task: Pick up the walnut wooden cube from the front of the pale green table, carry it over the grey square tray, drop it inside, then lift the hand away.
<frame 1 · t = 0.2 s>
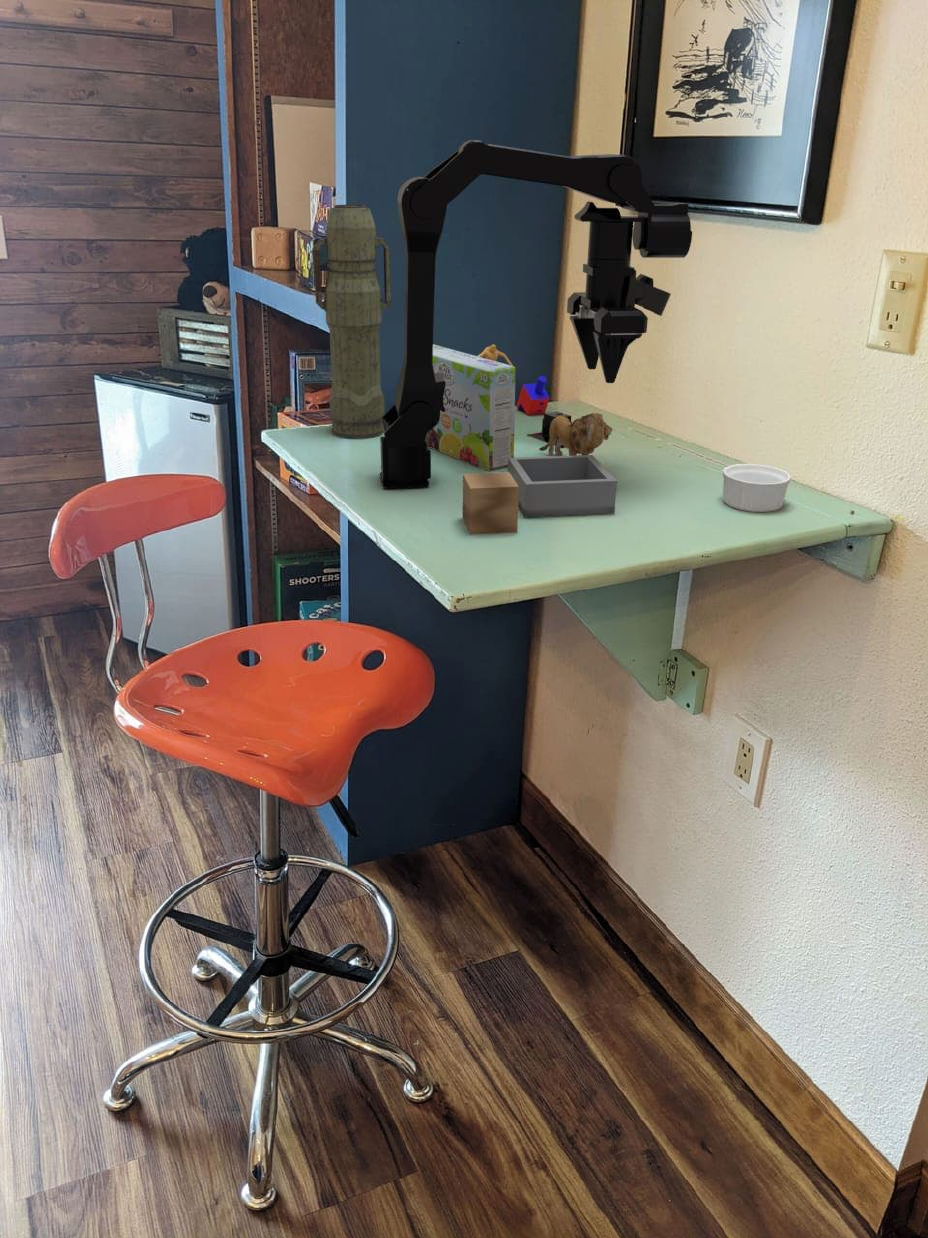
hand: (600, 375, 141), 14 cm above the table, fingers open, 9 cm apart
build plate: (556, 443, 165), on the table
lion figurine: (572, 466, 152), on the table
thermos: (357, 433, 168), on the table
snack box: (458, 454, 157), on the table
figurine: (494, 414, 180), on the table
grey square tray: (559, 500, 136), on the table
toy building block: (532, 413, 181), on the table
walnut cube: (489, 525, 128), on the table
ramekin: (752, 505, 137), on the table
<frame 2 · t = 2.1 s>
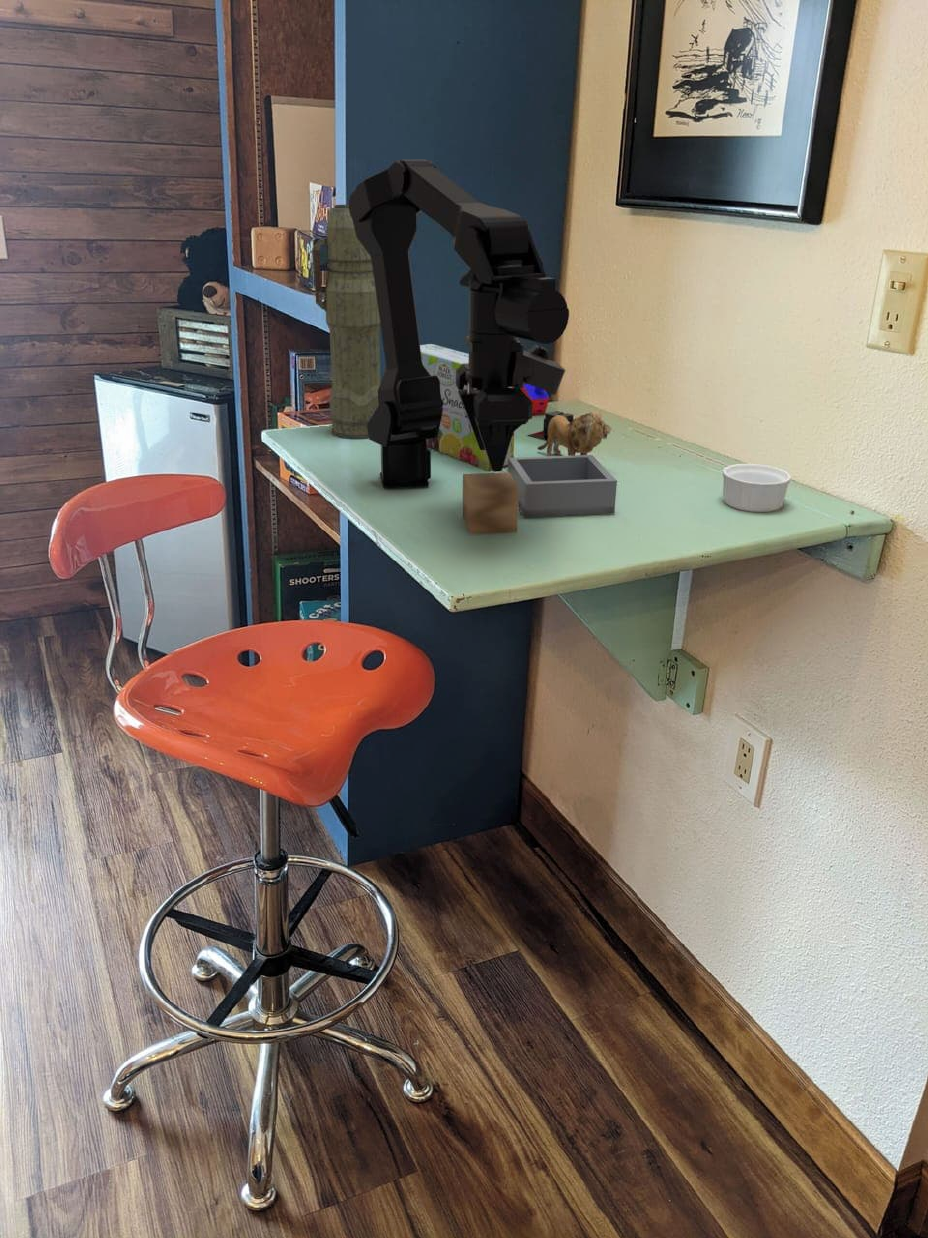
hand: (490, 459, 124), 8 cm above the table, fingers open, 9 cm apart
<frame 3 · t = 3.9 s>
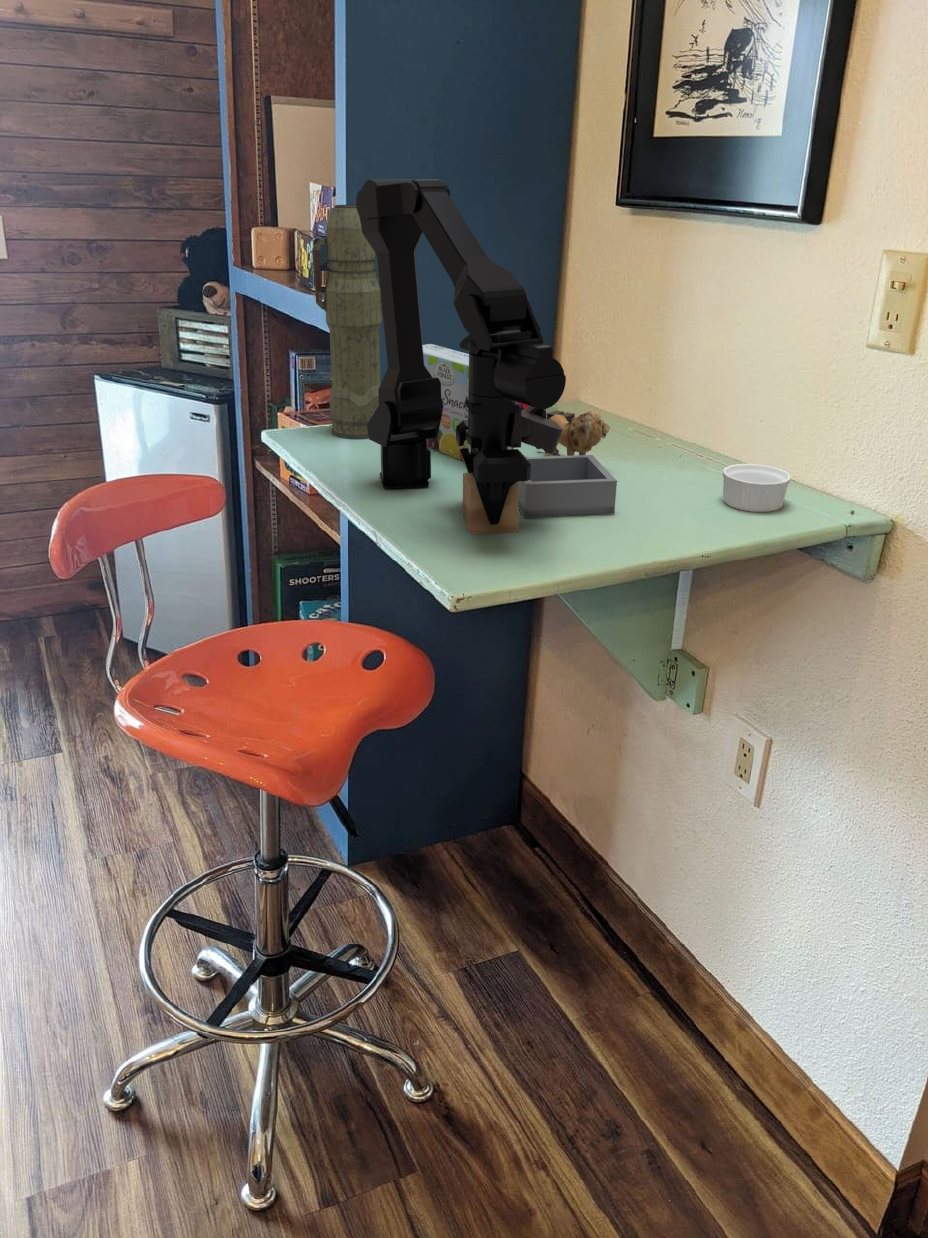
hand: (489, 515, 127), 1 cm above the table, fingers closed on walnut cube, 6 cm apart
walnut cube: (489, 524, 128), on the table, touching gripper
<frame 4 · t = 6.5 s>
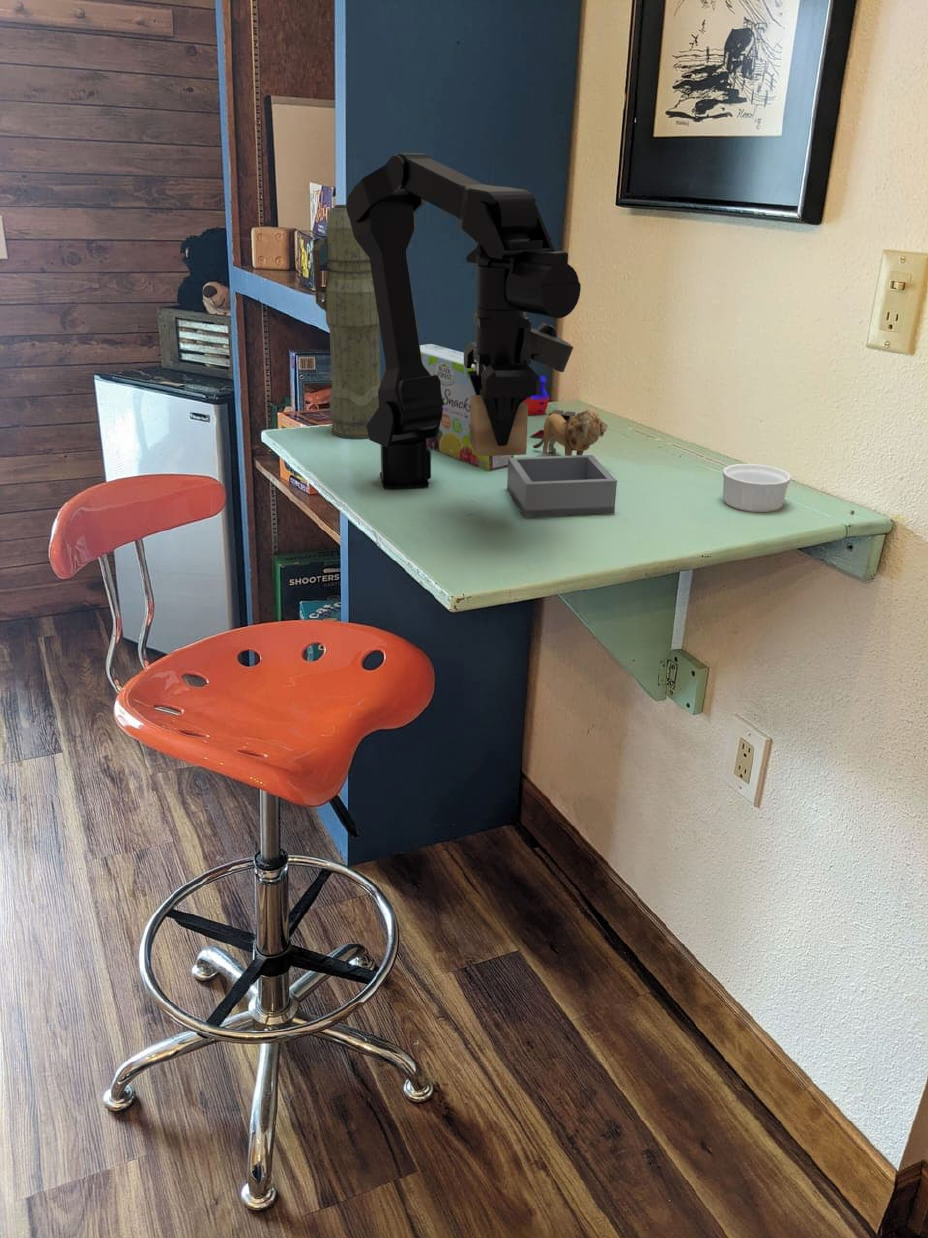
hand: (497, 438, 124), 11 cm above the table, fingers closed on walnut cube, 6 cm apart
walnut cube: (497, 448, 124), point 10 cm above the table, touching gripper
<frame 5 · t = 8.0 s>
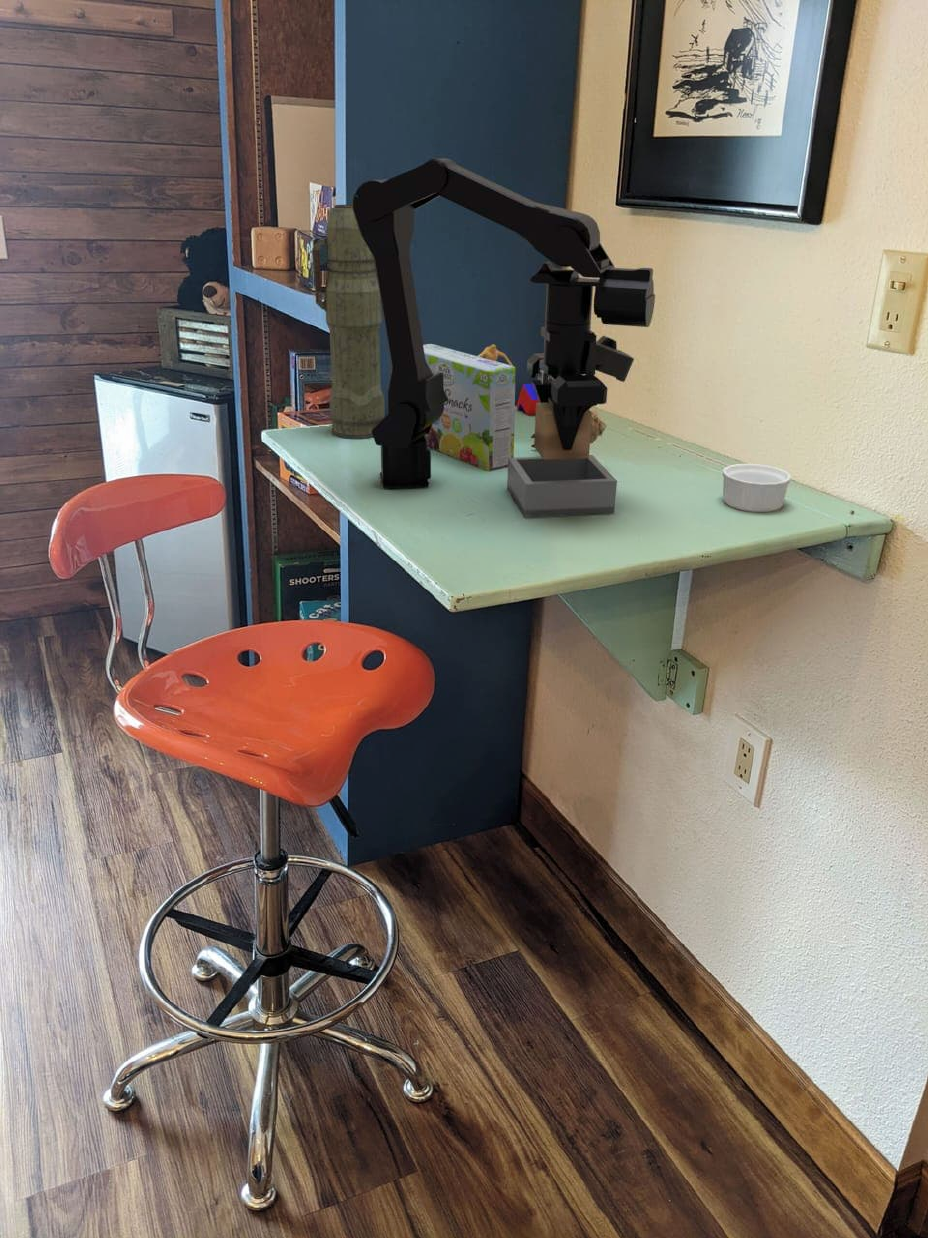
hand: (561, 443, 133), 8 cm above the table, fingers closed on walnut cube, 6 cm apart
walnut cube: (561, 452, 133), point 7 cm above the table, touching gripper
when the fingers open (6 cm above the table, at t = 9.3 s): walnut cube drops 3 cm, resting on grey square tray.
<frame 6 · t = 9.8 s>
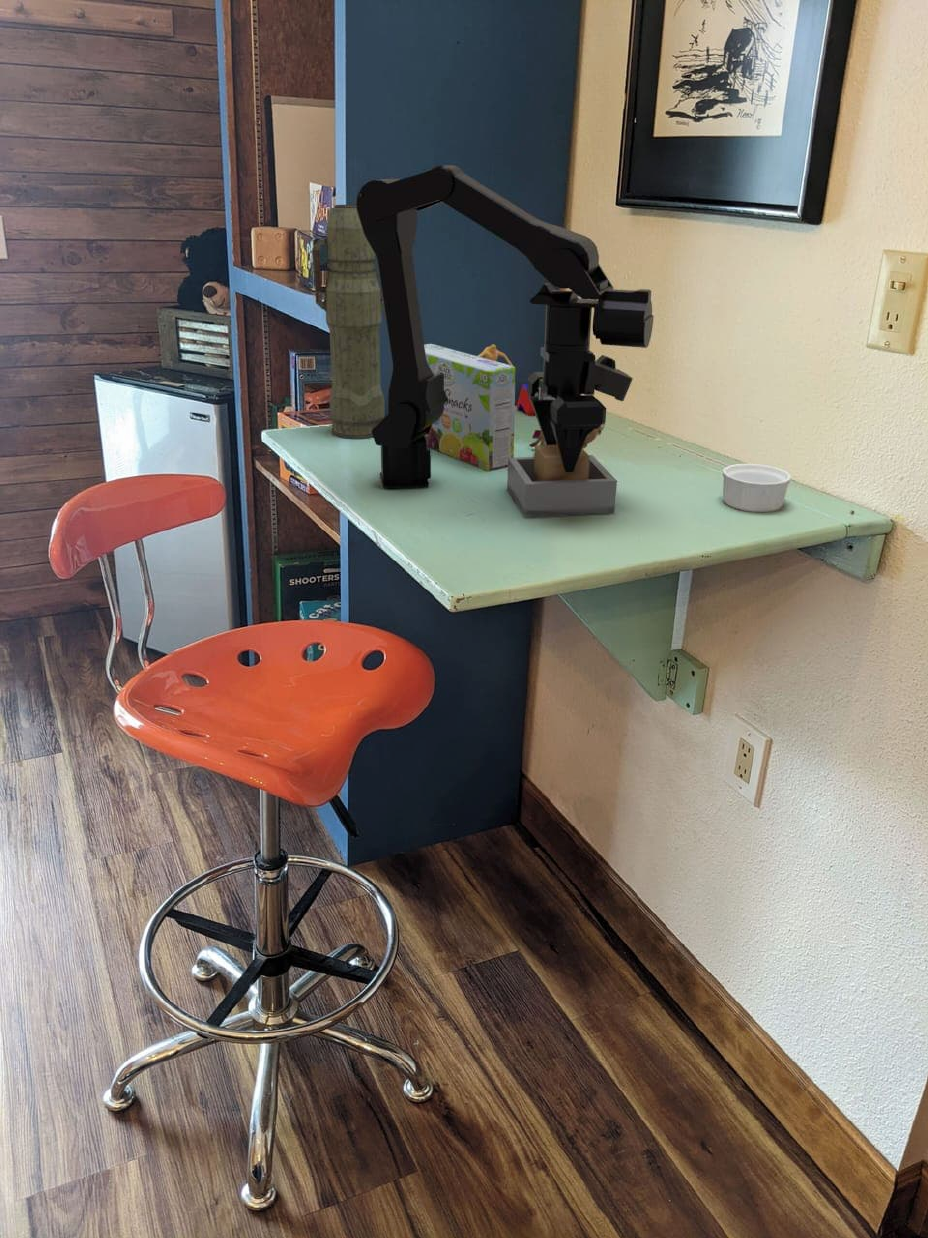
hand: (560, 461, 134), 6 cm above the table, fingers open, 9 cm apart
walnut cube: (559, 493, 136), point 1 cm above the table, touching grey square tray
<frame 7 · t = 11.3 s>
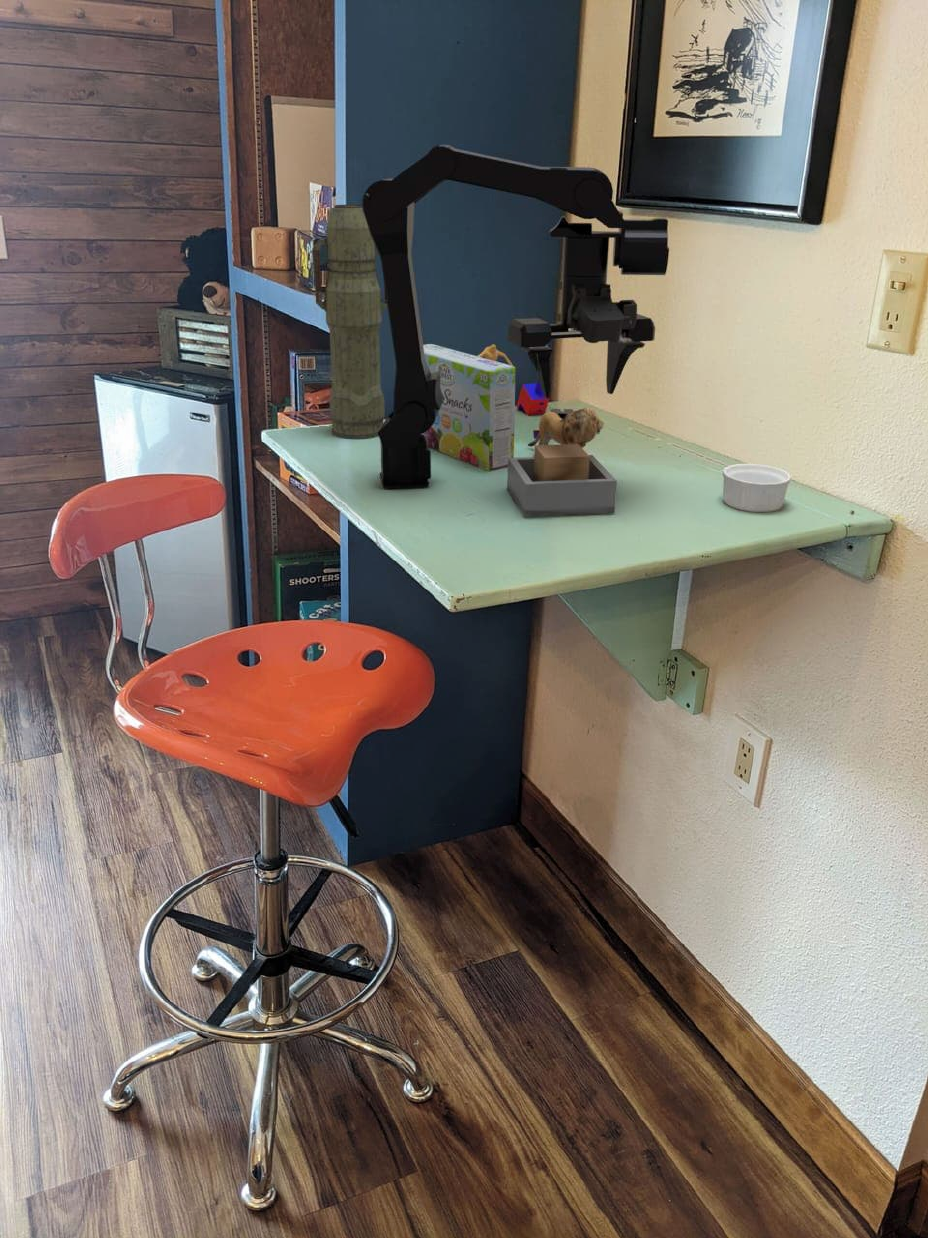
hand: (578, 395, 136), 13 cm above the table, fingers open, 9 cm apart
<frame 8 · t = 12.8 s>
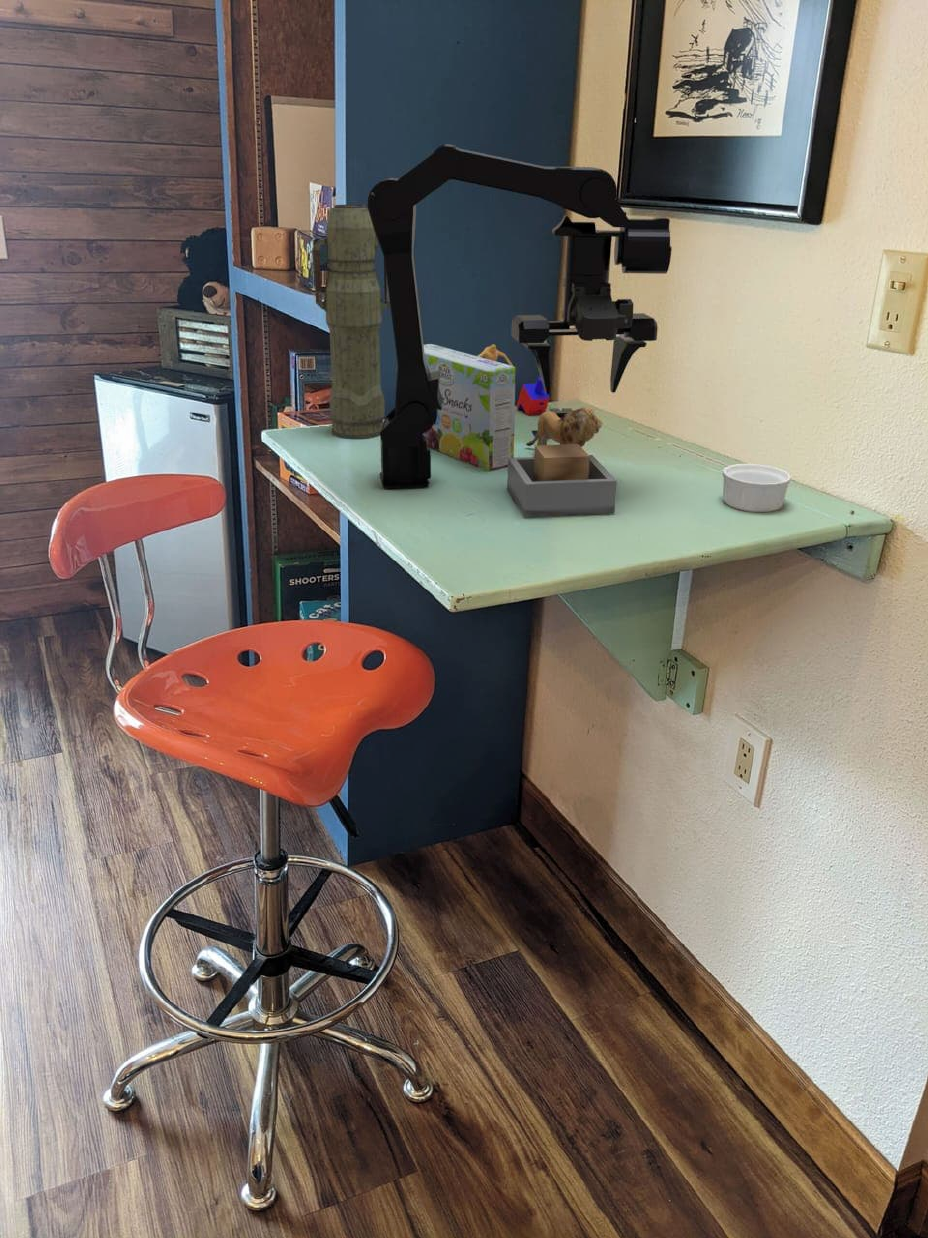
hand: (580, 392, 138), 13 cm above the table, fingers open, 9 cm apart
at the end: walnut cube 0.0 cm off-centre on the grey square tray, point 1.0 cm above the grey square tray's base; the gripper is holding nothing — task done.
